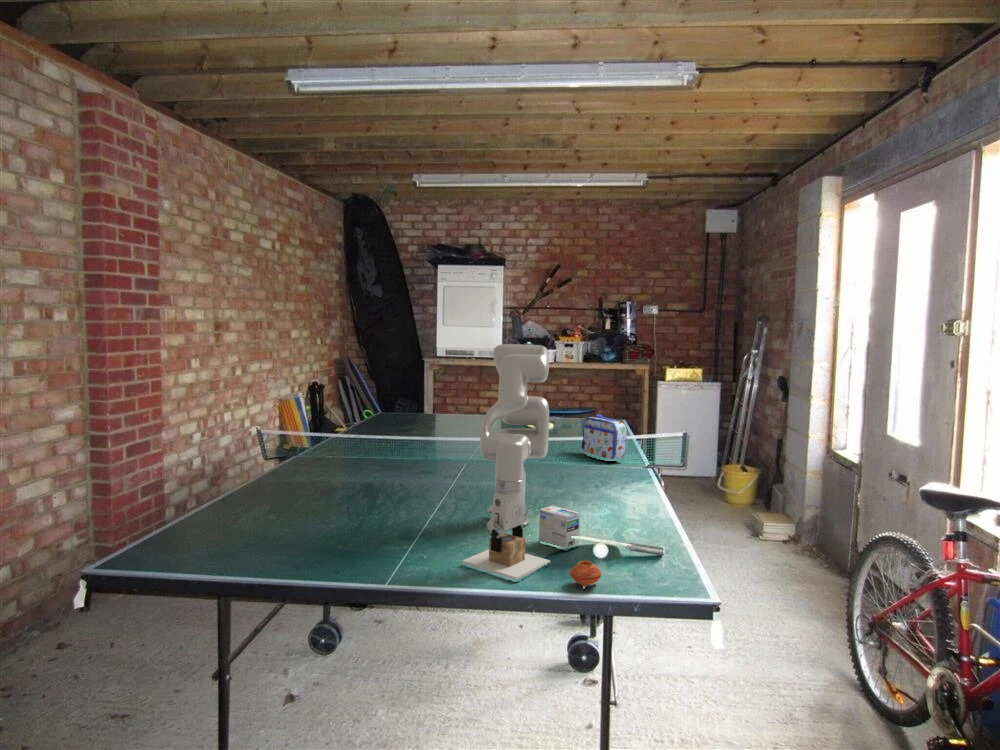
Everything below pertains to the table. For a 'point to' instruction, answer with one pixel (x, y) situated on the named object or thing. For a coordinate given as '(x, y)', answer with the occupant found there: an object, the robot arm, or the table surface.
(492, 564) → the plate
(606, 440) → the lunch box
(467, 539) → the table surface
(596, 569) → the pot
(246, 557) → the table surface
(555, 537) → the light bulb box
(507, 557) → the oak collar
